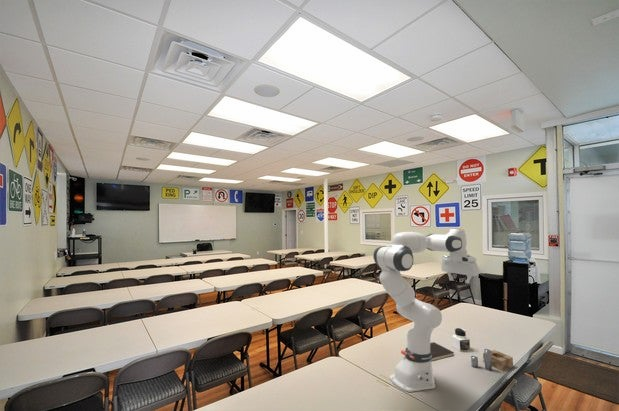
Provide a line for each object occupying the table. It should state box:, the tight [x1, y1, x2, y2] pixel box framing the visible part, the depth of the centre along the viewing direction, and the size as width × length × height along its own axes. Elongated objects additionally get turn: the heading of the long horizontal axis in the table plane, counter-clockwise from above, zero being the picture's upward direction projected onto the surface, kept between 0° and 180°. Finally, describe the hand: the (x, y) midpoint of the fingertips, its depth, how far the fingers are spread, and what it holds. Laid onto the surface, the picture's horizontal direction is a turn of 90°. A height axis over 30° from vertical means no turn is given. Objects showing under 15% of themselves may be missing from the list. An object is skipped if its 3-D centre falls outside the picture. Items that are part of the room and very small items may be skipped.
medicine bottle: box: [451, 327, 471, 352], centre depth 173 cm, size 7×7×12 cm
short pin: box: [470, 355, 479, 369], centre depth 151 cm, size 3×3×5 cm
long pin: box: [483, 348, 493, 372], centre depth 149 cm, size 3×3×10 cm
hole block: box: [482, 349, 514, 372], centre depth 154 cm, size 10×10×5 cm
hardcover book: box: [405, 342, 455, 362], centre depth 167 cm, size 16×23×2 cm
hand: (459, 281), depth 155 cm, fingers open, 8 cm apart
